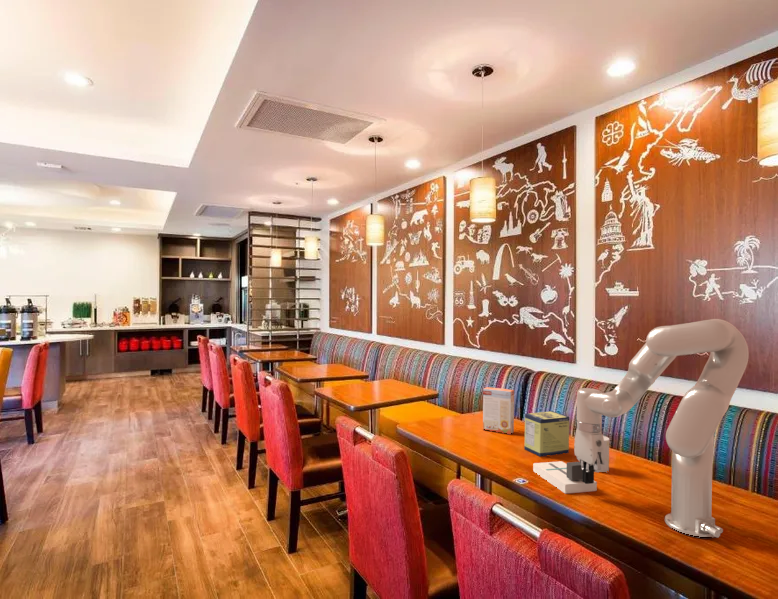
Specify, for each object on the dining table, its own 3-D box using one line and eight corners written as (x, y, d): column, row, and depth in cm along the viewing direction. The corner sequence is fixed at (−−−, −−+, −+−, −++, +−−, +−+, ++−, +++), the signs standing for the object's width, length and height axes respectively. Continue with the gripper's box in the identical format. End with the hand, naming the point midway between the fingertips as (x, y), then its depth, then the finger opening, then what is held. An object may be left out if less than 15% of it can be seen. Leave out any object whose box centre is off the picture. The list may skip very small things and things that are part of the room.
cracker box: (514, 432, 220) (514, 389, 220) (510, 435, 215) (511, 391, 215) (486, 427, 228) (487, 386, 228) (482, 430, 223) (483, 388, 223)
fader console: (596, 490, 152) (596, 481, 152) (565, 493, 150) (565, 484, 150) (561, 469, 172) (561, 460, 172) (533, 471, 169) (533, 462, 169)
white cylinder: (611, 473, 168) (611, 441, 168) (588, 471, 170) (588, 439, 170) (605, 465, 176) (606, 435, 176) (583, 464, 178) (583, 433, 178)
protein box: (569, 453, 191) (570, 416, 191) (540, 457, 185) (540, 419, 185) (552, 445, 201) (552, 410, 201) (523, 449, 195) (524, 413, 195)
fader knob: (584, 479, 153) (585, 464, 153) (571, 480, 152) (572, 465, 152) (579, 476, 156) (579, 461, 156) (566, 477, 155) (566, 462, 155)
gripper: (614, 432, 141) (614, 491, 141) (584, 420, 156) (583, 473, 156) (594, 433, 140) (593, 493, 140) (565, 421, 154) (564, 474, 154)
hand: (588, 482), depth 148 cm, fingers closed
